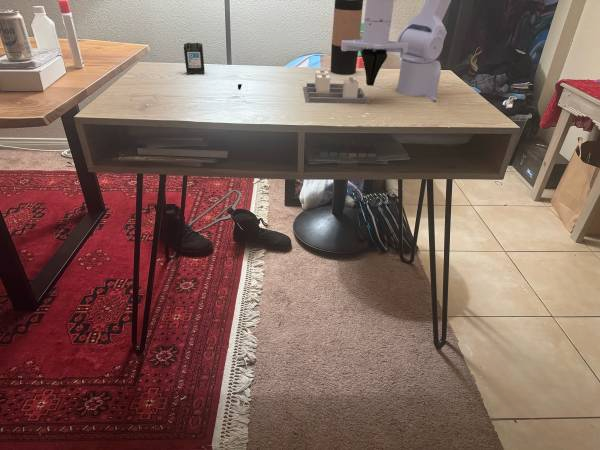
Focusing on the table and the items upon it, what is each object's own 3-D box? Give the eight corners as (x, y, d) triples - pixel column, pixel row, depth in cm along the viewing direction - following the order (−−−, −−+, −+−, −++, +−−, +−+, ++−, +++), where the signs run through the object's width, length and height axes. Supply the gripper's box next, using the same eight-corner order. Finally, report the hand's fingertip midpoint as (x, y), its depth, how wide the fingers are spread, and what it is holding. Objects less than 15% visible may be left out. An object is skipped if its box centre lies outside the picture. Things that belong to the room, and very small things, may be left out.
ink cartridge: (186, 74, 120) (183, 44, 115) (187, 72, 122) (183, 42, 117) (204, 74, 121) (201, 44, 116) (204, 72, 122) (202, 42, 118)
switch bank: (360, 92, 111) (361, 83, 109) (369, 108, 100) (370, 99, 99) (302, 91, 110) (302, 82, 109) (305, 107, 99) (305, 98, 98)
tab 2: (354, 97, 102) (356, 77, 100) (356, 100, 100) (358, 80, 97) (342, 96, 102) (344, 77, 99) (343, 100, 100) (345, 80, 97)
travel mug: (326, 72, 127) (331, -4, 116) (351, 72, 128) (358, -3, 117) (333, 79, 120) (338, -1, 110) (359, 79, 122) (367, 0, 111)
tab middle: (328, 91, 105) (329, 72, 103) (329, 95, 103) (330, 75, 100) (315, 91, 105) (316, 72, 102) (316, 94, 103) (317, 75, 100)
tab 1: (326, 87, 108) (327, 68, 106) (327, 90, 106) (328, 71, 104) (314, 86, 108) (315, 68, 106) (315, 90, 106) (316, 70, 103)
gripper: (346, 21, 88) (340, 88, 95) (416, 24, 89) (404, 90, 96) (342, 16, 94) (337, 80, 101) (407, 19, 95) (397, 81, 102)
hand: (369, 84), depth 99 cm, fingers closed
